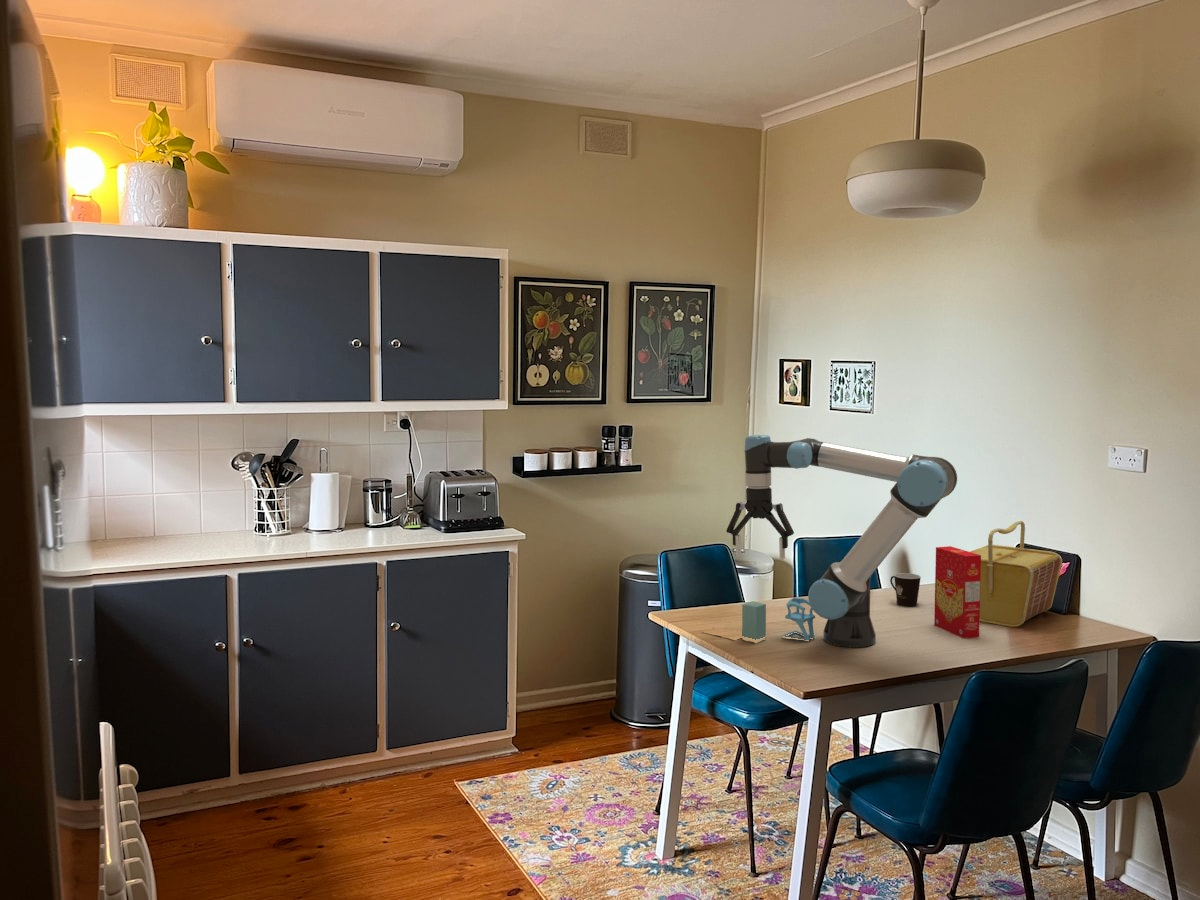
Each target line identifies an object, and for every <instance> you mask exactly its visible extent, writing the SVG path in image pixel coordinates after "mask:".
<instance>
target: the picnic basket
mask: <svg viewBox="0 0 1200 900" xmlns="http://www.w3.org/2000/svg"><path fill="white" fill-rule="evenodd" d="M1019 525H1020V539H1019V540H1020V541H1019V547H1015V546H1008V545H999V544H993V542H994V541H993V539H994V535H995V534H996V533H999V534H1001V535H1007V534H1010V533H1012V532H1014V531H1015V530H1016V529H1017V527H1018V526H1019ZM1025 534H1026V524H1025V523H1024V521H1023V520H1017V521H1015V522H1014V523H1012V524H1010V526H1008V527H1007V528H994V529H992V530H990V532H989V534H988V539H987V541H988V544H987V545H985V546H981V547H979V548H976V549H974V550H971V551H969V552H972V553H975V554H979V555H981V582H980V622H982V623H988V624H993V625H998V626H999V625H1000V626H1003V627H1004V626H1005V627H1010V628H1017V627H1020V626H1021V625H1024V622H1026V621H1028V620H1030V619H1032V618H1033V617H1035V616H1037V615H1039V614H1041V613H1043V612H1047V611H1049V610H1050V609H1051V608H1052V605H1053V602H1054V597H1055V594H1056V590H1057V586H1058V581H1059V578H1060V573H1061V569H1062V565H1063V558H1062V557H1061V555H1060V554H1058V553H1056V552H1054V551H1049V550H1042V549H1041V550H1039V549H1031V548H1025V536H1026V535H1025Z"/></svg>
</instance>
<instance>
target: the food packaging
mask: <svg viewBox="0 0 1200 900" xmlns="http://www.w3.org/2000/svg"><path fill="white" fill-rule="evenodd" d="M934 569H935V573H934V576H935V577H934V580H935V581H934V618H933V619H934V620H933V621H934V622H933V623H934V627H937V628H939V629H941V630H944V631H945V632H949V633H950V634H952V635H954V636H958V637H959V638H961V639H972V638H980V622H981V621H980V582H981V555H979V554H975V553H972V552H970V551H969V550H964V549H961V548H957V547H954V546H950V545H949V546H937V547H935V568H934Z"/></svg>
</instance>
